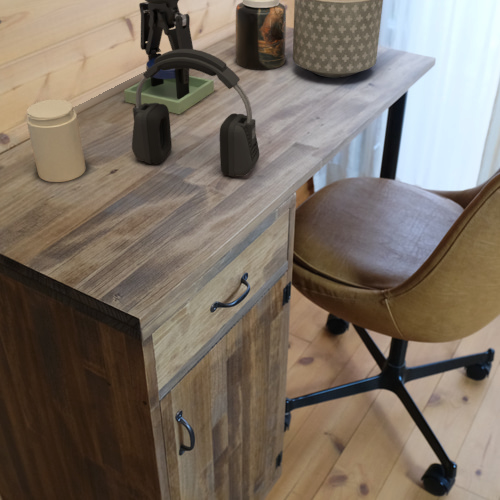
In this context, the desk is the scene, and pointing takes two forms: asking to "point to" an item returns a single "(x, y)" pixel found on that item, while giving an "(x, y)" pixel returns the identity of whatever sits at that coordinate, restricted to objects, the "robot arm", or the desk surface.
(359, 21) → the planter
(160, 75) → the lid
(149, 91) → the tray
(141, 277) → the desk surface
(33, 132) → the cream jar
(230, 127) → the headphones
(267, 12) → the jar
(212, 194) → the desk surface
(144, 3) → the robot arm
